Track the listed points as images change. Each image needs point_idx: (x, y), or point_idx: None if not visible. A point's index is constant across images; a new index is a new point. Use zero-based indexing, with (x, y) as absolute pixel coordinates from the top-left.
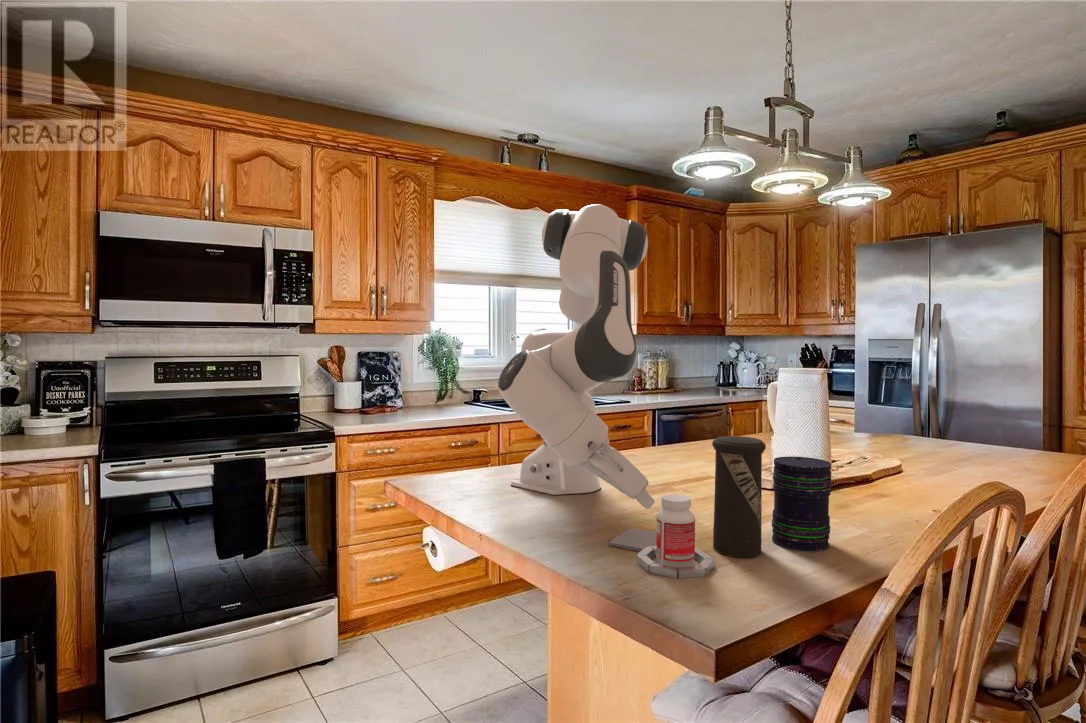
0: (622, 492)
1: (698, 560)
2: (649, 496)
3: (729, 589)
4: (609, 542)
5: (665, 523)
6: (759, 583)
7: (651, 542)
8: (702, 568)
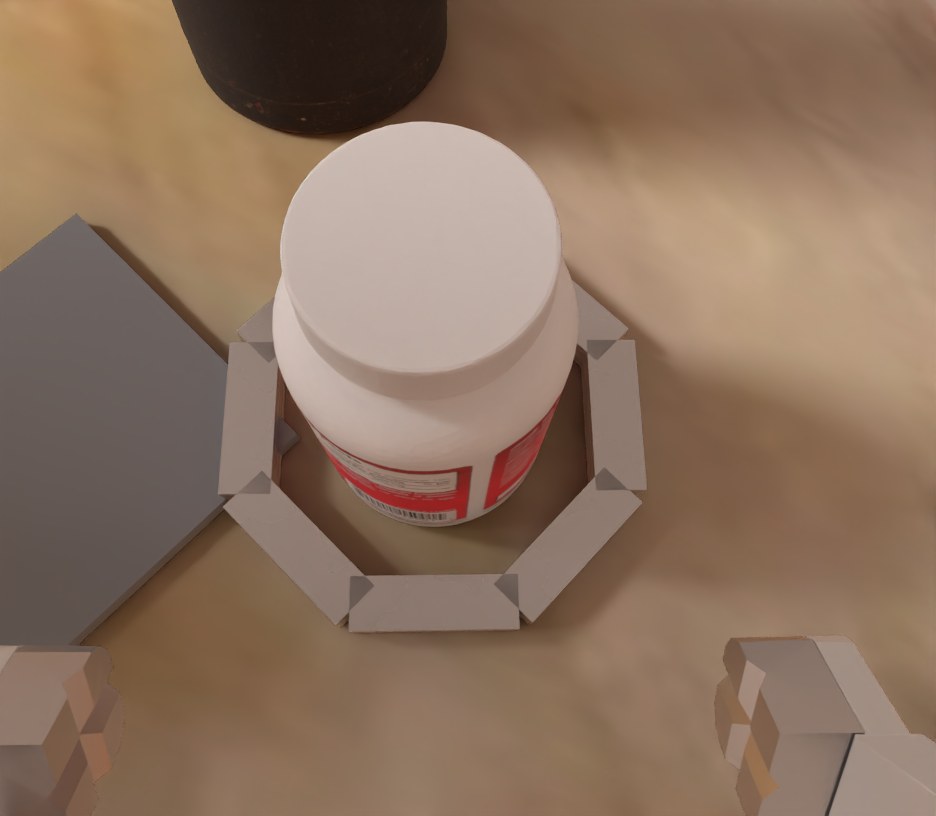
0: (110, 762)
1: None
2: (888, 710)
3: (799, 323)
4: None
5: (508, 448)
6: (746, 163)
7: (106, 422)
8: (634, 352)
